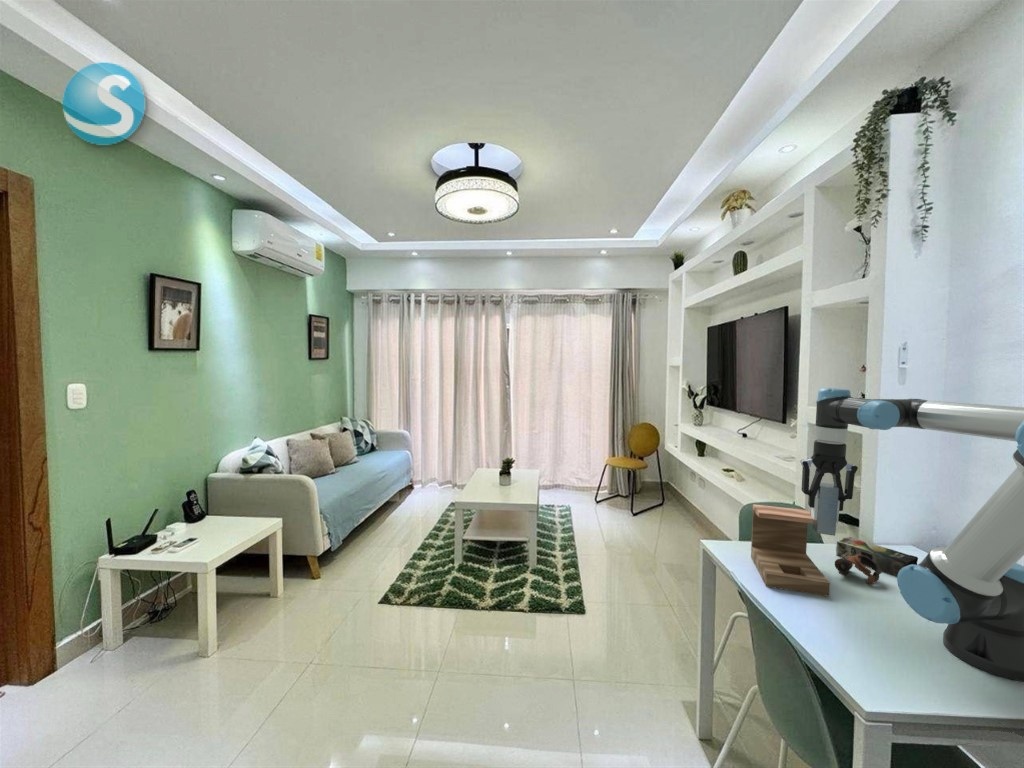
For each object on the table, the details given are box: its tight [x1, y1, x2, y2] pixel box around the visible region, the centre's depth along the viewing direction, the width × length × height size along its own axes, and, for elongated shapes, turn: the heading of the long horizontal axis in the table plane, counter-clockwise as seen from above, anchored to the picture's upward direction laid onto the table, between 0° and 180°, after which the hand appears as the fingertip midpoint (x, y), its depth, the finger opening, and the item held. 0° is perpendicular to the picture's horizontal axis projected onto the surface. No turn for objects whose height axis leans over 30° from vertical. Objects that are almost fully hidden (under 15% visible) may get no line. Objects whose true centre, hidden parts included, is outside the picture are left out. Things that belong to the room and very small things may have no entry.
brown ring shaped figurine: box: [834, 554, 882, 586], centre depth 132 cm, size 12×9×8 cm
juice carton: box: [835, 536, 919, 577], centre depth 142 cm, size 20×10×6 cm, turn 30°
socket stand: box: [750, 503, 831, 597], centre depth 133 cm, size 21×16×18 cm
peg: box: [812, 482, 839, 537], centre depth 123 cm, size 4×4×14 cm
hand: (824, 519), depth 123 cm, fingers closed on peg, 4 cm apart
